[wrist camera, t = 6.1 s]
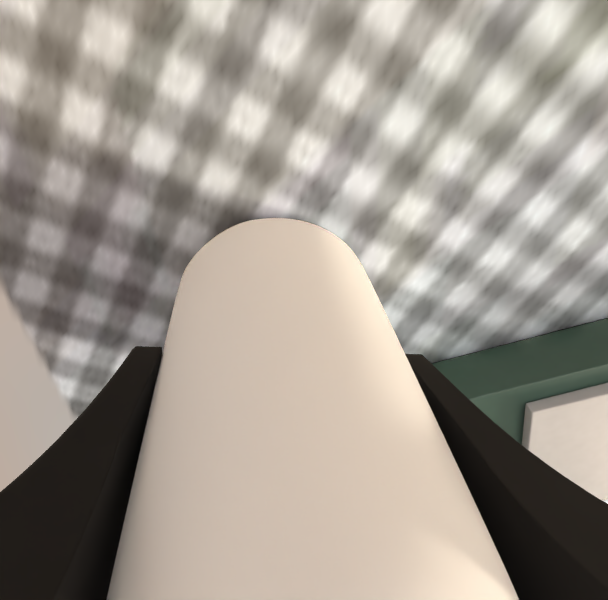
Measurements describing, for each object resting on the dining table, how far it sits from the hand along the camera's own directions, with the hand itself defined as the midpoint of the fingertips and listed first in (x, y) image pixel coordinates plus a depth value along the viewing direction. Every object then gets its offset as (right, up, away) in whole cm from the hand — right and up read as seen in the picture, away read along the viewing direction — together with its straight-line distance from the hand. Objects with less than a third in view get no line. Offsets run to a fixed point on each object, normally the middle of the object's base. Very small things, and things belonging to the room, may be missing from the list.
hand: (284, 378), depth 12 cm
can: (-1, +2, +3) cm, 4 cm away
